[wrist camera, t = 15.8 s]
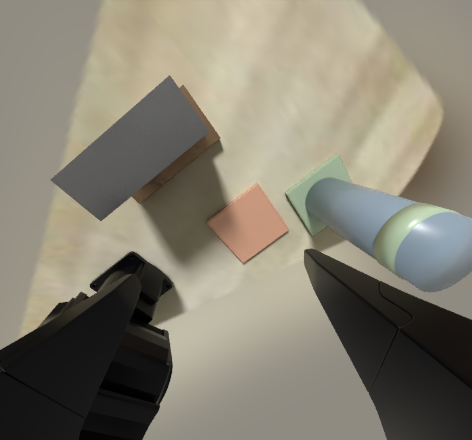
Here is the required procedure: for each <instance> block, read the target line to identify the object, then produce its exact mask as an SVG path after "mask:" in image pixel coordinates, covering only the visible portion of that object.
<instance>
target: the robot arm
mask: <svg viewBox="0 0 472 440" xmlns="http://www.w3.org/2000/svg"><path fill="white" fill-rule="evenodd" d="M130 255H132V256H134V257H131V256H130ZM304 264H305V268H306V270H307V273H308V275H309V278H310V281H311V284H312V286H313V289H314V291H315V293H316V295H317V297H318V299H319V301H320V303H321V305H322V306H323V308H324V310H325V312H326V314H327V316H328V318H329V320H330V321H331V323H332V325H333V327H334V329H335V331H336V333H337V334H338V336H339V338H340V340H341V342H342V344H343V346H344V348H345V350H346V351H347V354H348V355H349V357H350V359H351V361H352V363H353V365H354V367H355V368H356V370H357V372H358V374H359V376H360V378H361V380H362V382H363V384H364V385H365V387H366V389H367V391H368V392H369V395H370V397H371V399H372V401H373V403H374V405H375V407H376V410H377V412H378V415H379V418H380V420H381V423H382V426H383V429H384V432H385V435H386V438H387V440H472V320H471V319H468V318H466V317H463V316H461V315H458V314H456V313H454V312H451V311H449V310H446V309H444V308H441V307H439V306H437V305H434V304H432V303H429V302H427V301H424V300H422V299H419V298H417V297H415V296H412V295H410V294H408V293H405V292H403V291H401V290H398V289H397V288H394V287H392V286H390V285H388V284H386V283H384V282H382V281H379V280H377V279H375V278H373V277H371V276H369V275H367V274H364V273H362V272H360V271H358V270H356V269H354V268H352V267H350V266H348V265H346V264H344V263H341V262H340V261H338V260H335V259H333V258H331V257H329V256H327V255H325V254H323V253H321V252H319V251H317V250H315V249H306V250H305V251H304ZM94 284H96V285H94ZM167 284H169V286H167ZM90 288H91V289H93V290H94V291H96V292H97V293H96V294H94V295H92V296H91V297H88V296H87V294H85V293H83V292H80V293H79V294H78V296H77V297H76V298H72V299H71V300H70V301H69V302H63V303H58V305H57V306H56V307H55V308H54V309H53V310H52V312H51V313H50V314H49V315H48V316H47V317H46V319H45V320H44V321H43V322H42V323H41V324H40V325H39V327H38V328H37V329H35V330H34V331H32V332H30V333H29V334H27V335H25V336H24V337H22V338H20V339H19V340H17V341H15V342H13V343H12V344H10V345H8V346H6V347H5V348H3V349H1V350H0V440H142V439H143V437H144V435H145V433H146V431H147V429H148V427H149V425H150V423H151V422H152V420H153V419H154V417H155V415H156V414H157V412H158V411H159V408H160V405H159V404H160V402H161V401H162V399H163V397H164V395H165V393H166V391H167V388H168V385H169V382H170V378H171V374H172V367H173V365H172V356H171V350H170V342H169V334H168V331H166V330H161V329H158V328H157V327H154V326H152V325H150V324H149V322H150V321H152V319H153V315H154V311H155V307H156V303H157V302H158V300H159V297H160V296H161V295H163V294H164V293H165V292H167V291H168V290H169V289H171V288H172V282H171V281H170V280H169V279H168V278H166V277H165V276H164V274H163V273H161V272H160V271H159V270H158V269H156V268H155V267H154V266H153V265H152V264H150V263H149V262H147V261H145V260H144V259H143V258H142V257H141V256H139V255H138V254H137V253H135V252H129V253H128V254H126V255H125V256H124V257H123V258H121V259H120V260H119V261H118V262H116V263H115V264H114V265H112V266H111V267H110V268H109V269H107V270H106V271H105V272H104V273H102V274H101V275H100V276H99V277H97V278H96V279H95V280H93V281H92V283H91V284H90Z"/></svg>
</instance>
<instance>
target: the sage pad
mask: <svg viewBox="0 0 472 440" xmlns="http://www.w3.org/2000/svg"><path fill="white" fill-rule="evenodd" d="M328 177H331V178H336V179H339V180H343V181H346V182H350V183H352V181H351V179H350V177H349V175H348V172H347V170H346V168H345V166H344V163H343V161H342V159H341V156H340V155H338V154H336V155H335V156H333V157H332V158H331V159H329V160H328V161H327V162H325V163H324V164H323V165H321V166H320V167H319V168H317V169H316V170H315V171H313V172H312V173H311V174H309V175H308V176H307V177H305V178H304V179H303V180H301V181H300V182H299V183H297V184H296V185H295V186H293V187H292V188H291V189H289V190H288V191H287V192H285V194H286V195H287V197H288V199H289V200H290V202H291V203H292V205H293V207H294V208H295V210H296V211H297V213H298V214H299V216H300V218H301V219H302V221H303V222H304V224H305V226H306V227H307V229H308V230H309V232H310V233H311V235H312V236H315V235H316V234H318V233H319V232H320V231H322V230H323V229H325V228H326V227H327V226H325V225H324V224H323V223H321V222H320V221H318V220H317V219H315V218H314V217H312V216H311V215H310V214H309V213H308V212H307V209H306V205H305V201H306V196H307V194H308V192H309V190H310V188H311V187H312V186H313V185H314V184H315V183H316V182H318V181H319V180H321V179H324V178H328Z"/></svg>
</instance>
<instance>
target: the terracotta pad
mask: <svg viewBox="0 0 472 440" xmlns="http://www.w3.org/2000/svg"><path fill="white" fill-rule="evenodd" d="M207 224H208V225H209V226H210V227H211V229H212V230H213V231H214V232H215V233H216V234H217V235H218V236H219V237H220V238H221V239H222V241H223V242H224V243H225V244H226V245H227V246H228V247H229V248H230V249H231V250H232V251H233V253H234V254H235V255H236V256H237V257H238V258H239V259H240V260H241V261H242V262H243V263H244V262H246V261H247V260H248V259H250V258H251V257H252V256H254V255H255V254H256V253H258V252H259V251H261V250H262V249H263V248H265V247H266V246H267V245H269V244H270V243H272V242H273V241H274V240H276V239H277V238H278V237H280V236H281V235H282V234H284V233H285V232H287V231H288V230H289V228H288V227H287V225H286V224H285V222H284V221H283V220H282V218H281V217H280V215H279V214H278V212H277V211H276V209H275V208H274V206H273V205H272V204H271V202H270V201H269V199H268V198H267V196H266V195H265V193H264V192H263V190H262V189H261V187H260V186H259V185H258V184H257V183H256V184H255V185H254V186H253V187H251V188H250V189H249V190H247V191H246V192H245V193H243V194H242V195H241V196H240V197H238V198H237V199H236V200H234V201H233V202H232V203H230V204H229V205H228V206H227V207H225V208H224V209H223V210H221V211H220V212H219V213H217V214H216V215H215V216H214V217H212V218H211V219H210V220H208V221H207Z"/></svg>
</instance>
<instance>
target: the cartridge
mask: <svg viewBox="0 0 472 440" xmlns="http://www.w3.org/2000/svg"><path fill="white" fill-rule="evenodd" d="M305 205H306V209H307V212H308V213H309V214H310V215H311V216H312V217H314V218H315V219H317V220H318V221H320V222H321V223H323V224H324V225H325V226H327V227H328V228H330V229H331V230H333V231H334V232H336V233H337V234H339V235H340V236H342V237H343V238H345V239H346V240H348V241H349V242H351V243H352V244H354V245H355V246H356V247H358V248H360V249H361V250H362V251H364V252H365V253H367V254H368V255H370V256H371V257H373V258H374V259H376V260H377V261H378V263H379V264H381V265H382V266H383V267H385V268H386V269H388V270H389V271H391V272H392V273H394V274H395V275H397V276H398V277H399V278H401V279H404V280H407V281H408V282H409V283H411V284H412V285H414V286H415V287H417V288H418V289H420V290H422V291H424V292H436V291H441V290H443V289H446V288H448V287H450V286H452V285H454V284H456V283H457V282H459V281H460V280H462V279H463V278H464V277H465V276H467V275H468V274H469V273H470V272H471V271H472V218H470V217H466V216H463V215H460V214H459V213H457V212H455V211H452V210H448V209H445V208H441V207H438V206H434V205H431V204H427V203H418V202H415V201H411V200H408V199H404V198H401V197H398V196H394V195H391V194H387V193H384V192H380V191H377V190H374V189H370V188H367V187H363V186H360V185H356V184H353V183H350V182H346V181H343V180H339V179H336V178H331V177H328V178H324V179H321V180H319V181H318V182H316V183H315V184H314V185H313V186H312V187H311V188H310V190H309V192H308V194H307V196H306V201H305Z"/></svg>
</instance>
